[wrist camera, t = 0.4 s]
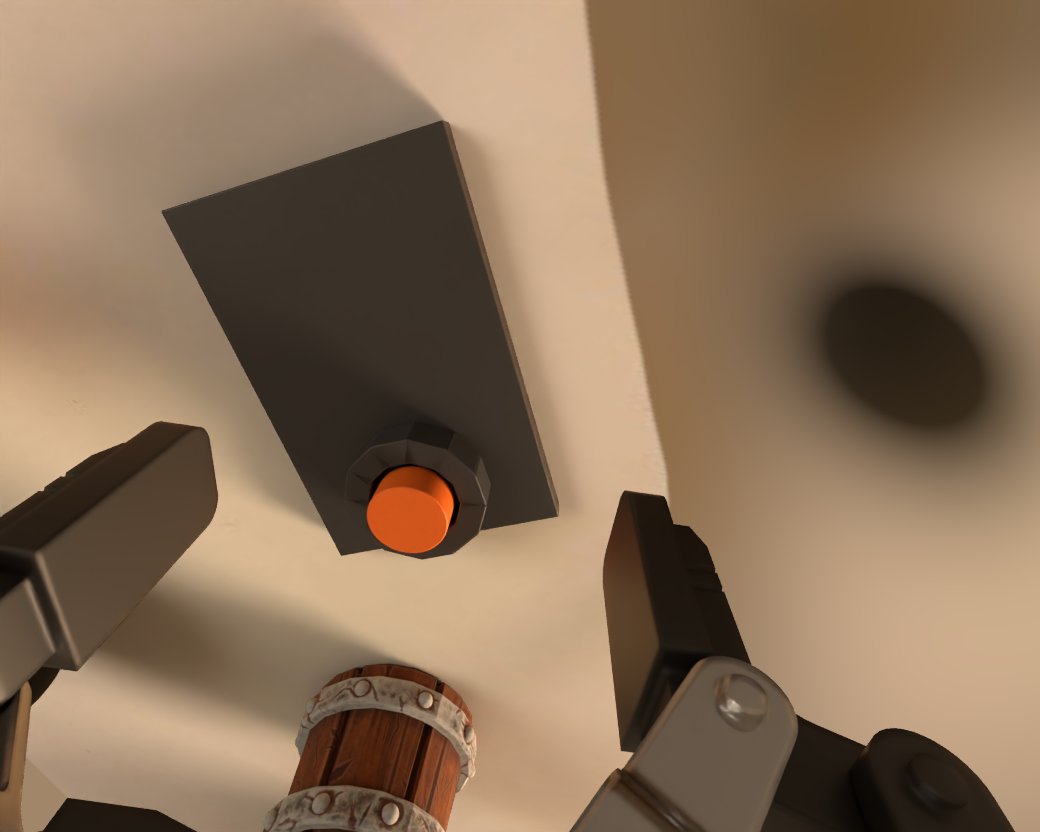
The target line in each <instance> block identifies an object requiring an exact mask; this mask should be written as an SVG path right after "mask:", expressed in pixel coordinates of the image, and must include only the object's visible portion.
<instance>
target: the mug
mask: <svg viewBox="0 0 1040 832" xmlns="http://www.w3.org/2000/svg"><path fill="white" fill-rule="evenodd" d="M436 683H437V679H436V678H435V677H433V676H430V675H428V674H426V673H424V672H421V671H419V670H417V669H413V668H408V667H402V666H396V665H391V664H380V665H366V666H364V668H363V671H362V673H361V672H360V670H359V669H358V667H357V668H354V669H351V670H349V671H346V672H343V673H341V674H338V675H336V676H335V677H334V678H333V679H332V680H331V681H330V682H329V683H328V684H326V685H325V686H324V687H323V688H322V690H321V691H320V692H319V693H318V694H317V695H316V696H315V697H314V698H312V699H310V700H309V701H308V702H307V704H306V711H305V714H304V717H303V720H302V722H301V726H300V729H299V732H298V736H297V738H296V740H295V745H296V747H297V748H298V751H299V755H300V758H301V759H300V762H299V765H298V768H297V770H296V773H295V776H294V779H293V782H292V785H291V788H290V791H289V794H288V796H287V797H286V798H284V799H283V800H282V801H281V802H279V803H278V804H277V805H276V806H275V807H273V808H272V809H271V811H269V812H268V813H267V814H266V816H265V818H264V821H263V825H264V830H263V832H446V829H447V825H448V821H449V817H450V813H451V809H452V805H453V801H454V797H455V794H456V793H457V792H459V791H460V790H462V789H463V787H464V786H465V784H466V782H467V780H468V779H471V778H472V777H473V776H474V775H475V766H474V761H475V756H476V752H477V750H476V732H475V730H474V729H473V727H472V717H471V714H470V712H469V710H468V708H467V707H466V705H465V703H464V702H463V700H462V698H461V697H460V696H459V695H458V694H457V693H456V692H455V691H453V690H452V689H451V688H450V687H449V686H447V685H446V684H445V683H443V684H441V685H440V686H436Z"/></svg>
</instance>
